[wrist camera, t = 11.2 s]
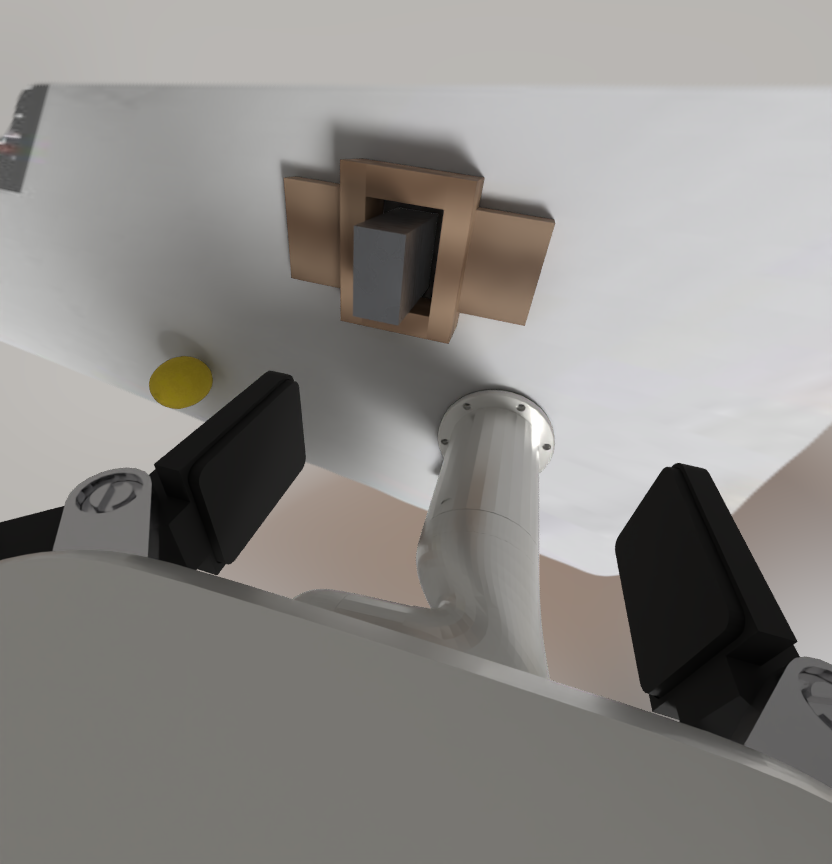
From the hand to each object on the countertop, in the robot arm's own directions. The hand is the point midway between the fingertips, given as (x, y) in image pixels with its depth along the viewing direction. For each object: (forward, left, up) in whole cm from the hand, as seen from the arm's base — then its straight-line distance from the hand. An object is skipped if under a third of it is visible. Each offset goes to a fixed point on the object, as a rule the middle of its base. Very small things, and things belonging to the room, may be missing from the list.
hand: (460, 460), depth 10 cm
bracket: (-4, +8, -28) cm, 30 cm away
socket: (-4, +8, -28) cm, 29 cm away
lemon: (-28, +27, -28) cm, 48 cm away
